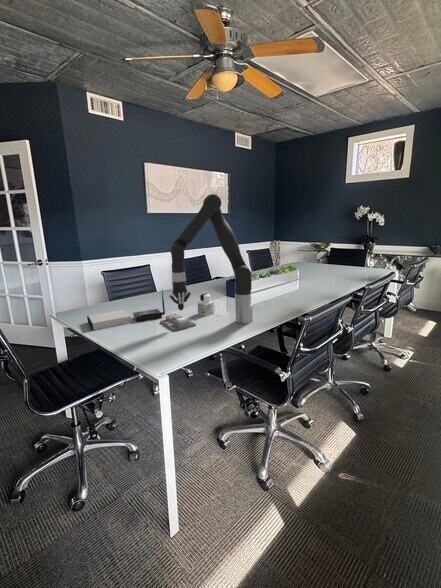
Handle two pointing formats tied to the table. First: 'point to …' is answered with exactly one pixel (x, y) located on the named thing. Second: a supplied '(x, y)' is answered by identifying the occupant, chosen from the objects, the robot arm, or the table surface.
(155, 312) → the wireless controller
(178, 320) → the key cream
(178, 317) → the key slate
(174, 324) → the keypad
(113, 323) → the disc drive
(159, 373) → the table surface
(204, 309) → the container
